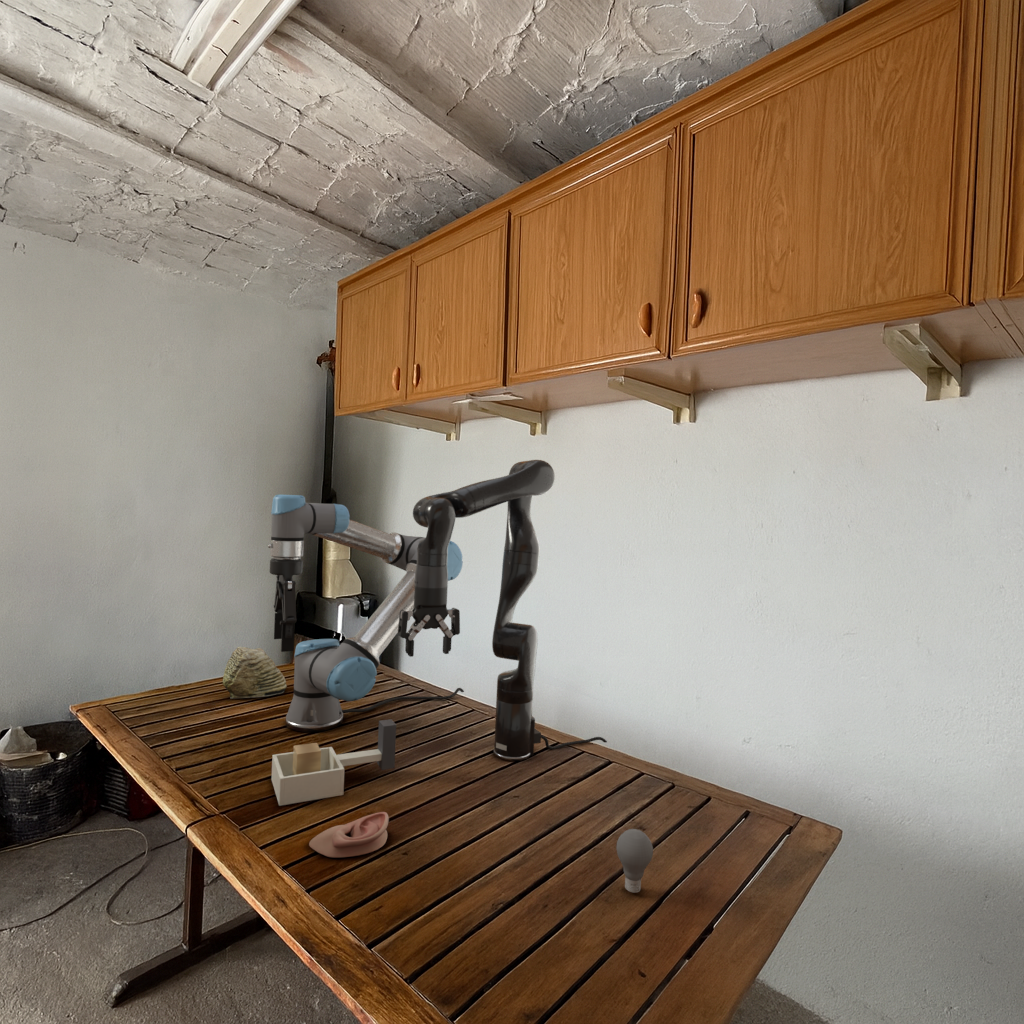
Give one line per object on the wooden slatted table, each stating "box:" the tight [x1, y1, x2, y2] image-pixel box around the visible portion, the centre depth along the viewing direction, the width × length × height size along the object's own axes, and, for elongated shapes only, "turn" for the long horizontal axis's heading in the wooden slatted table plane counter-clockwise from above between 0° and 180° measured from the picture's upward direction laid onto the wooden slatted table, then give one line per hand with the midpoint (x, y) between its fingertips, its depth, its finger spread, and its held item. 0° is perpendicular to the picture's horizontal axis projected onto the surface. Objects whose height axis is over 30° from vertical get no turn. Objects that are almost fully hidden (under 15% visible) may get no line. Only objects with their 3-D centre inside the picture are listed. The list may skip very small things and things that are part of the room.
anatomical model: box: [308, 811, 390, 859], centre depth 117 cm, size 13×4×12 cm
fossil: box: [222, 646, 288, 699], centre depth 198 cm, size 9×18×15 cm, turn 132°
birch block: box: [292, 742, 321, 775], centre depth 138 cm, size 5×5×8 cm
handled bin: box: [270, 718, 397, 807], centre depth 141 cm, size 26×13×12 cm, turn 117°
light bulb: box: [615, 828, 654, 894], centre depth 106 cm, size 6×6×10 cm
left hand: (283, 644), depth 154 cm, fingers open, 13 cm apart
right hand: (428, 654), depth 146 cm, fingers open, 8 cm apart
